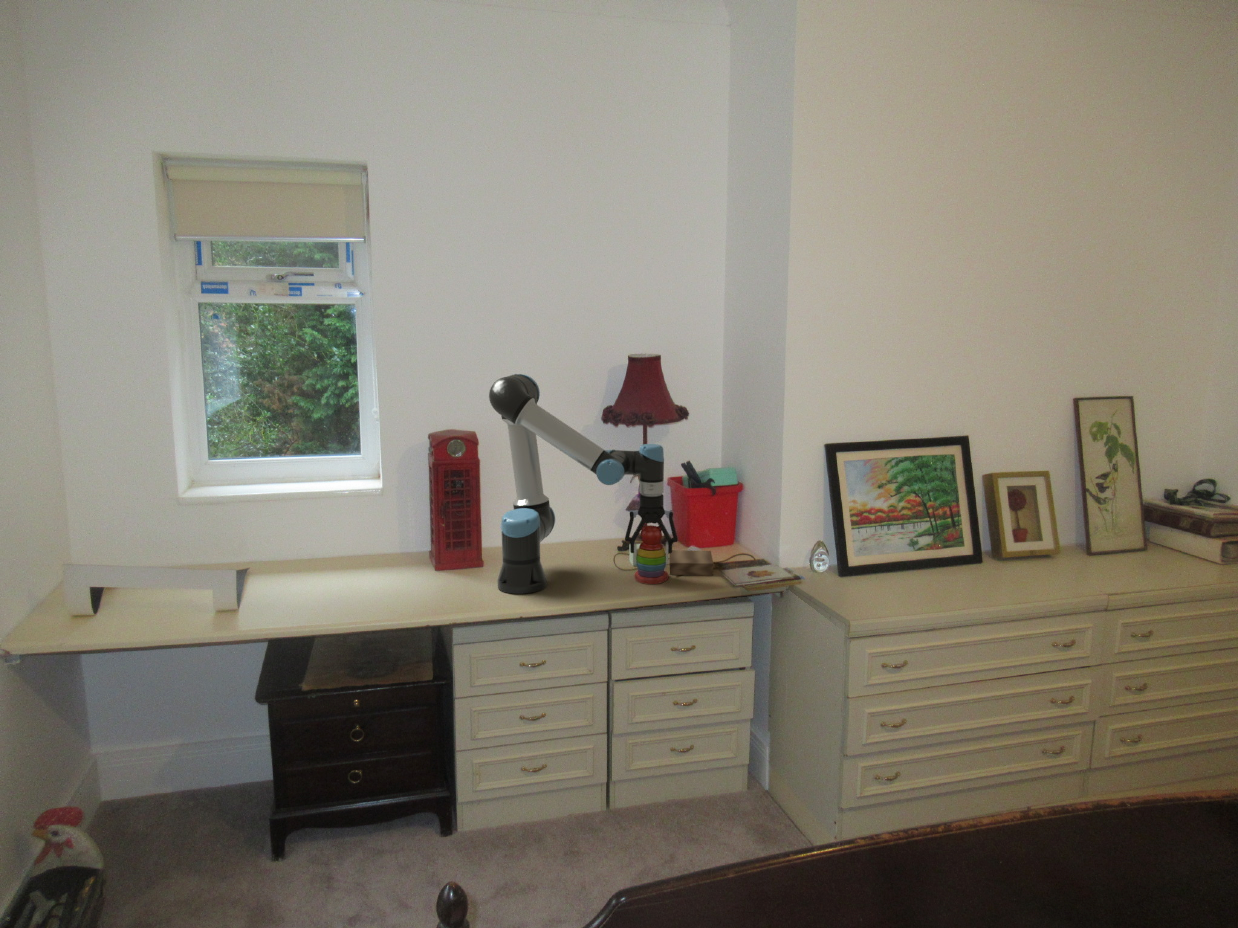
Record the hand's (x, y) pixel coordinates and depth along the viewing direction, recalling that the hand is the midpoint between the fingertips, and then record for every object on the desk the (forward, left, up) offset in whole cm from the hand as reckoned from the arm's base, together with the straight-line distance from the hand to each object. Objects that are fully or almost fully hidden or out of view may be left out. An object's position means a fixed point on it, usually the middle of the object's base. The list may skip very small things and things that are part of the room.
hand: (651, 562), depth 255 cm
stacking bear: (0, 0, -6) cm, 6 cm away
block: (-4, +17, -6) cm, 18 cm away
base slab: (+13, +12, -6) cm, 19 cm away
